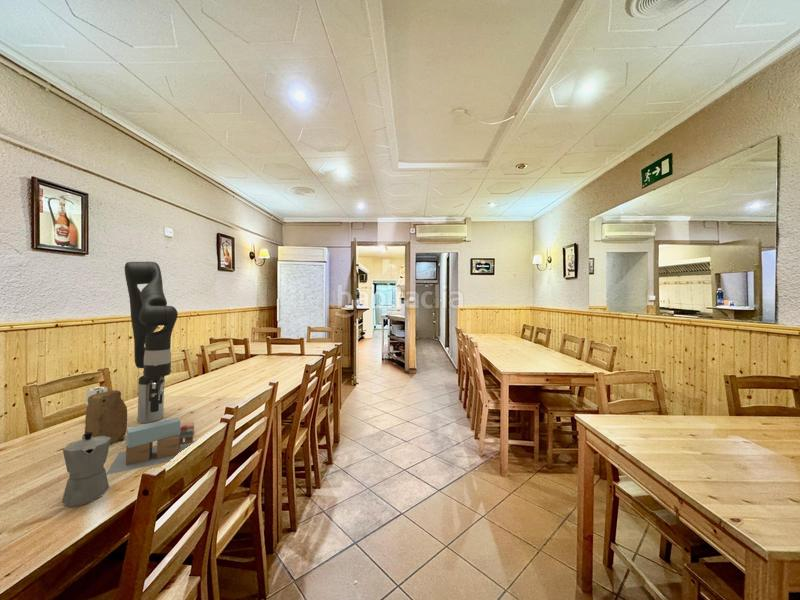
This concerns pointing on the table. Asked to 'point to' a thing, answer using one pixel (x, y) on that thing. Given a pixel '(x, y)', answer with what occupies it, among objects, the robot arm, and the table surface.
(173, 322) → the robot arm
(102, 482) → the coffeepot
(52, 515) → the table surface
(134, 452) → the base cube
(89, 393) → the beer glass
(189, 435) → the model
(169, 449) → the base cube
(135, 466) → the grey flat sheet
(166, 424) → the lintel
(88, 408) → the block
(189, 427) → the terracotta cube
